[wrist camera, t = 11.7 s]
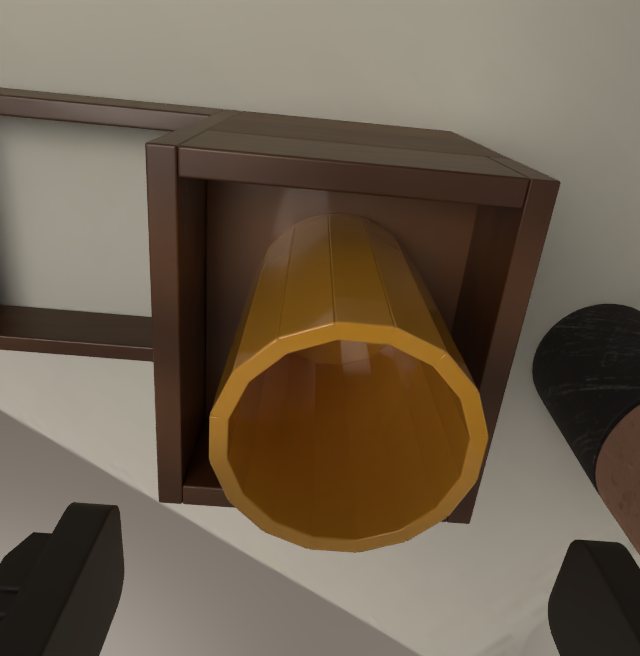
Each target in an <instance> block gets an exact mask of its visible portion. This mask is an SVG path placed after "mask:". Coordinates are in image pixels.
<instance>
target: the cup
mask: <svg viewBox="0 0 640 656" xmlns="http://www.w3.org/2000/svg"><path fill="white" fill-rule="evenodd" d="M488 436H489V434H488V429H487V425H486V420H485V415H484V411H483V406H482V402H481V397H480V393H479V391H478V389H477V387H476V385H475V383H474V381H473V379H472V377H471V375H470V373H469V371H468V369H467V367H466V365H465V363H464V361H463V359H462V357H461V355H460V353H459V351H458V349H457V347H456V345H455V343H454V341H453V339H452V337H451V335H450V333H449V330H448V328H447V326H446V324H445V322H444V320H443V318H442V316H441V314H440V312H439V310H438V308H437V306H436V304H435V302H434V300H433V298H432V296H431V294H430V292H429V290H428V288H427V286H426V284H425V282H424V280H423V278H422V276H421V274H420V272H419V270H418V268H417V266H416V264H415V262H414V261H413V259H412V258H411V257H410V255H409V254H408V252H407V251H406V249H405V248H404V246H403V245H402V243H401V242H400V241H399V240H398V239H397V238H396V237H395V236H394V235H393V234H392V233H391V232H389V231H388V230H387V229H386V228H384V227H382V226H381V225H379V224H378V223H376V222H373V221H371V220H369V219H367V218H363V217H360V216H357V215H351V214H341V213H332V214H322V215H318V216H314V217H310V218H307V219H305V220H302V221H300V222H298V223H296V224H294V225H292V226H291V227H289V228H288V229H287V230H285V231H284V232H282V233H281V234H280V235H279V236H278V237H277V238H276V239H275V240H274V241H273V242H272V243H271V245H270V246H269V247H268V248H267V250H266V252H265V253H264V255H263V257H262V259H261V261H260V264H259V266H258V269H257V271H256V273H255V275H254V277H253V280H252V283H251V286H250V289H249V293H248V296H247V299H246V302H245V305H244V308H243V311H242V315H241V318H240V321H239V324H238V327H237V330H236V334H235V337H234V340H233V343H232V346H231V349H230V352H229V356H228V359H227V362H226V365H225V368H224V371H223V375H222V378H221V381H220V384H219V387H218V390H217V393H216V397H215V400H214V403H213V406H212V409H211V412H210V416H209V460H210V464H211V466H212V468H213V470H214V472H215V474H216V476H217V478H218V480H219V482H220V485H221V487H222V489H223V491H224V493H225V495H226V497H227V499H228V500H229V502H230V503H231V504H232V505H233V506H235V507H236V508H237V509H238V510H239V511H240V512H241V513H243V514H244V515H245V516H246V517H247V518H248V519H249V520H251V521H252V522H253V523H254V524H255V525H256V526H258V527H259V528H260V529H261V530H262V531H264V532H266V533H268V534H271V535H273V536H276V537H278V538H281V539H284V540H286V541H289V542H291V543H294V544H296V545H299V546H301V547H304V548H307V549H308V548H309V549H312V550H327V551H341V552H355V553H356V552H357V551H358V552H363V551H367V550H372V549H376V548H380V547H385V546H389V545H394V544H398V543H403V542H405V541H408V540H410V539H412V538H413V537H415V536H417V535H418V534H420V533H422V532H423V531H425V530H427V529H429V528H430V527H432V526H434V525H435V524H437V523H439V522H440V521H442V520H444V519H446V518H447V516H449V515H450V514H451V513H452V511H453V510H454V509H455V508H456V506H457V505H458V504H459V503H460V502H461V500H462V499H463V498H464V497H465V495H466V494H467V493H468V492H469V491H470V489H471V488H472V487H473V486H474V484H475V483H476V480H478V476H479V472H480V469H481V465H482V461H483V458H484V454H485V450H486V446H487V443H488V439H489V438H488Z"/></svg>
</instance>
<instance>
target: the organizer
mask: <svg viewBox="0 0 640 656" xmlns="http://www.w3.org/2000/svg"><path fill="white" fill-rule="evenodd" d="M0 115H3V116H13V117H24V118H34V119H45V120H55V121H66V122H76V123H87V124H98V125H108V126H119V127H129V128H140V129H150V130H161V131H171V133H168V134H166V135H163V136H161V137H159V138H156V139H154V140H152V141H149V142H147V143H146V144H145V149H146V175H147V201H148V228H149V254H150V281H151V307H152V318H151V317H138V316H126V315H114V314H102V313H89V312H77V311H65V310H53V309H41V308H28V307H16V306H4V305H0V350H13V351H26V352H38V353H51V354H64V355H76V356H89V357H102V358H115V359H127V360H140V361H153V362H154V386H155V412H156V439H157V465H158V491H159V502H162V503H177V504H181V503H182V502H183V504H191V505H206V506H220V507H235V506H233V505H232V504H231V503H230V502H229V500H228V499H227V497H226V495H225V493H224V491H223V489H222V487H221V485H220V482H219V480H218V478H217V476H216V474H215V472H214V470H213V468H212V466H211V464H210V460H209V416H210V412H211V409H212V406H213V403H214V400H215V397H216V393H217V390H218V387H219V384H220V381H221V378H222V375H223V371H224V368H225V365H226V362H227V359H228V356H229V352H230V349H231V346H232V343H233V340H234V337H235V334H236V330H237V327H238V324H239V321H240V318H241V315H242V311H243V308H244V305H245V302H246V299H247V296H248V293H249V289H250V286H251V283H252V280H253V277H254V275H255V273H256V271H257V269H258V266H259V264H260V261H261V259H262V257H263V255H264V253H265V252H266V250H267V248H268V247H269V246H270V245H271V243H272V242H273V241H274V240H275V239H276V238H277V237H278V236H279V235H280V234H281V233H282V232H284V231H285V230H287V229H288V228H289V227H291V226H292V225H294V224H296V223H298V222H300V221H302V220H305V219H307V218H310V217H314V216H318V215H322V214H332V213H341V214H351V215H357V216H360V217H363V218H367V219H369V220H371V221H373V222H376V223H378V224H379V225H381V226H382V227H384V228H386V229H387V230H388V231H389V232H391V233H392V234H393V235H394V236H395V237H396V238H397V239H398V240H399V241H400V242H401V243H402V245H403V246H404V248H405V249H406V251H407V252H408V254H409V255H410V257H411V258H412V259H413V261H414V262H415V264H416V266H417V268H418V270H419V272H420V274H421V276H422V278H423V280H424V282H425V284H426V286H427V288H428V290H429V292H430V294H431V296H432V298H433V300H434V302H435V304H436V306H437V308H438V310H439V312H440V314H441V316H442V318H443V320H444V322H445V324H446V326H447V328H448V330H449V333H450V335H451V337H452V339H453V341H454V343H455V345H456V347H457V349H458V351H459V353H460V355H461V357H462V359H463V361H464V363H465V365H466V367H467V369H468V371H469V373H470V375H471V377H472V379H473V381H474V383H475V385H476V387H477V389H478V391H479V393H480V397H481V402H482V406H483V411H484V415H485V420H486V425H487V429H488V434H489V436H488V438H489V439H488V443H487V446H486V450H485V454H484V458H483V461H482V465H481V469H480V472H479V476H478V480H476V483H475V484H474V486H473V487H472V488H471V489H470V491H469V492H468V493H467V494H466V495H465V497H464V498H463V499H462V500H461V502H460V503H459V504H458V505H457V506H456V508H455V509H454V510H453V511H452V513H451V514H450V515H449V516H447V518H446V519H444V520H442V521H440V522H446V521H447V522H450V523H465V524H469V523H470V520H471V516H472V512H473V508H474V505H475V501H476V497H477V493H478V490H479V486H480V482H481V478H482V475H483V471H484V467H485V463H486V460H487V456H488V452H489V449H490V445H491V441H492V437H493V434H494V430H495V426H496V422H497V419H498V415H499V411H500V407H501V404H502V400H503V396H504V392H505V389H506V385H507V381H508V377H509V374H510V370H511V366H512V362H513V359H514V355H515V351H516V347H517V344H518V340H519V336H520V332H521V329H522V325H523V321H524V317H525V314H526V310H527V306H528V302H529V299H530V295H531V291H532V287H533V284H534V280H535V276H536V272H537V269H538V265H539V261H540V257H541V254H542V250H543V246H544V242H545V239H546V235H547V231H548V227H549V224H550V220H551V216H552V212H553V209H554V205H555V201H556V197H557V194H558V190H559V186H560V181H558V180H556V179H554V178H551V177H549V176H547V175H545V174H543V173H541V172H538V171H536V170H534V169H532V168H530V167H527V166H525V165H523V164H521V163H519V162H517V161H514V160H512V159H510V158H508V157H505V156H503V155H501V154H499V153H497V152H495V151H492V150H490V149H488V148H486V147H484V146H482V145H479V144H477V143H475V142H473V141H471V140H468V139H466V138H464V137H462V136H460V135H458V134H455V133H453V132H451V131H442V130H431V129H421V128H411V127H401V126H390V125H380V124H370V123H359V122H349V121H339V120H328V119H318V118H308V117H297V116H287V115H277V114H267V113H256V112H246V111H242V112H241V111H236V110H223V109H214V108H204V107H194V106H184V105H173V104H163V103H153V102H142V101H132V100H122V99H111V98H101V97H91V96H80V95H70V94H60V93H50V92H39V91H29V90H19V89H8V88H0ZM235 508H236V507H235Z"/></svg>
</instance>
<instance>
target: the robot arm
mask: <svg viewBox="0 0 640 656" xmlns="http://www.w3.org/2000/svg"><path fill="white" fill-rule="evenodd" d="M123 580H124V557H123V545H122V533H121V520H120V511H119V508H118V506H117V505H103V504H88V503H75V502H73V503H71V504H70V505H69V506H68V507H67V509H66V510H65V512H64V513H63V515H62V517H61V519H60V520H59V522H58V524H57V526H56V527H55V529H54V531H53V533H52V534H51V533H35V532H33V533H32V534H31V535H30V536H28V537H27V538H26V539H25V540H24V541H22V542H21V543H20V544H19V545H18V546H17V547H15V548H14V549H13V550H12V551H10V552H9V553H8V554H7V555H6V556H5V557H4V558H3V560H2V561H1V563H0V656H99V654H100V652H101V649H102V646H103V644H104V641H105V639H106V636H107V633H108V631H109V628H110V625H111V622H112V620H113V617H114V614H115V612H116V609H117V606H118V603H119V600H120V596H121V592H122V586H123ZM548 619H549V625H550V630H551V634H552V636H553V639H554V642H555V644H556V647H557V649H558V652H559V654H560V656H640V568H639V567H638V565H637V564H636V562H635V560H634V559H633V557H632V556H631V554H630V552H629V551H628V550H627V548H626V547H625V546H624V545H622V544H621V543H618V542H604V541H590V540H574V541H573V542H572V543H571V544H570V546H569V548H568V550H567V553H566V556H565V558H564V561H563V563H562V566H561V569H560V571H559V574H558V576H557V579H556V582H555V584H554V587H553V589H552V592H551V595H550V598H549V602H548Z"/></svg>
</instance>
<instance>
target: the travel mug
mask: <svg viewBox="0 0 640 656" xmlns="http://www.w3.org/2000/svg"><path fill="white" fill-rule="evenodd" d="M532 372H533V381H534V384H535V387H536V390H537V392H538V394H539V396H540V398H541V399H542V401H543V403H544V405H545V406H546V408H547V410H548V411H549V413H550V415H551V416H552V418H553V420H554V421H555V423H556V425H557V426H558V428H559V430H560V431H561V433H562V434H563V436H564V438H565V439H566V441H567V443H568V444H569V446H570V448H571V449H572V451H573V453H574V454H575V456H576V458H577V459H578V461H579V463H580V464H581V466H582V468H583V469H584V471H585V472H586V474H587V476H588V477H589V479H590V481H591V482H592V484H593V486H594V487H595V489H596V491H597V492H598V494H599V495H600V497H601V498H602V500H603V502H604V503H605V505H606V506H607V508H608V509H609V511H610V512H611V514H612V515H613V517H614V518H615V519H616V521H617V522H618V524H619V525H620V527H621V528H622V530H623V531H624V533H625V534H626V536H627V537H628V539H629V540H630V542H631V543H632V545H633V546H634V548H635V549H636V550H637V552H638V553H639V555H640V311H638V310H636V309H634V308H631V307H627V306H624V305H617V304H601V305H594V306H590V307H586V308H583V309H580V310H578V311H576V312H574V313H572V314H570V315H568V316H567V317H565V318H563V319H562V320H561V321H559V322H558V323H557V324H556V325H555V326H554V327H552V328H551V329H550V331H549V332H548V333H547V334H546V335H545V337H544V338H543V340H542V341H541V343H540V344H539V346H538V348H537V351H536V353H535V356H534V361H533V370H532Z"/></svg>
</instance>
